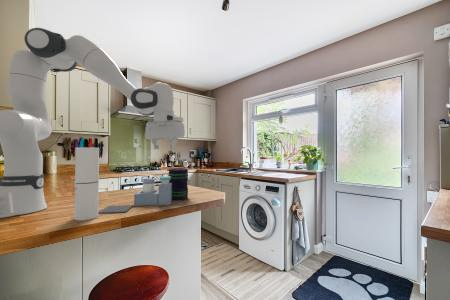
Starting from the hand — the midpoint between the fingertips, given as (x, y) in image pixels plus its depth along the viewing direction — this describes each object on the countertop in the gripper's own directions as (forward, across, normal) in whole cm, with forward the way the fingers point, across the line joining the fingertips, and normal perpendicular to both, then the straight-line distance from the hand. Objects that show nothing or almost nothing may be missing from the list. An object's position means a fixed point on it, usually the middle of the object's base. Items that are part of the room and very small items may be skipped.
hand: (164, 148), depth 94 cm
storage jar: (+25, -1, +11) cm, 28 cm away
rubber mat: (+25, -11, -16) cm, 32 cm away
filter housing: (+25, -6, 0) cm, 26 cm away
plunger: (+20, 0, 0) cm, 20 cm away
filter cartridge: (+25, -8, -2) cm, 26 cm away
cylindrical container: (+25, -12, -27) cm, 39 cm away
